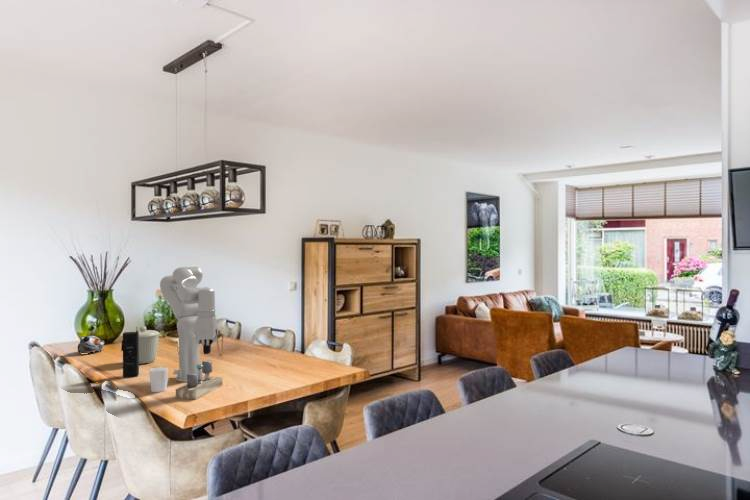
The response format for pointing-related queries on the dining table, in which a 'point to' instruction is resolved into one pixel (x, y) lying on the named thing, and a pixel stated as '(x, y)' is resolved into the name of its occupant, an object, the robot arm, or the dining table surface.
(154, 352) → the canister
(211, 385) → the mount panel
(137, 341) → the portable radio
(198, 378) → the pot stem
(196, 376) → the knob
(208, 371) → the knob
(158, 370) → the white cup
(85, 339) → the lucky cat figurine
